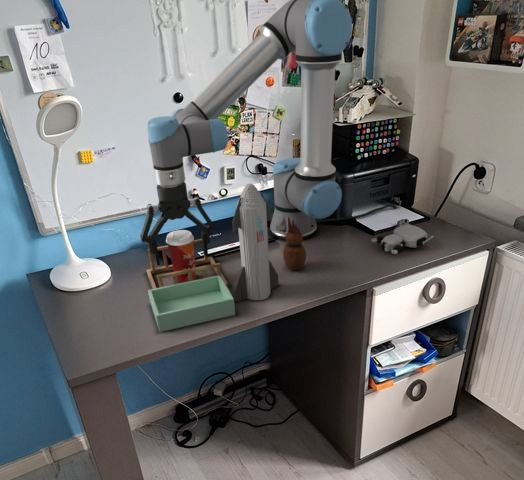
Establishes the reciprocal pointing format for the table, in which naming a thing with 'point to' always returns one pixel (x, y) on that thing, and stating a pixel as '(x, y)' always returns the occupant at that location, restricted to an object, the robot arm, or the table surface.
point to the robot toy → (402, 238)
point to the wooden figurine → (294, 248)
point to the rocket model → (253, 246)
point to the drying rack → (189, 271)
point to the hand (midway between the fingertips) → (182, 258)
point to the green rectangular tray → (191, 303)
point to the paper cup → (182, 253)
